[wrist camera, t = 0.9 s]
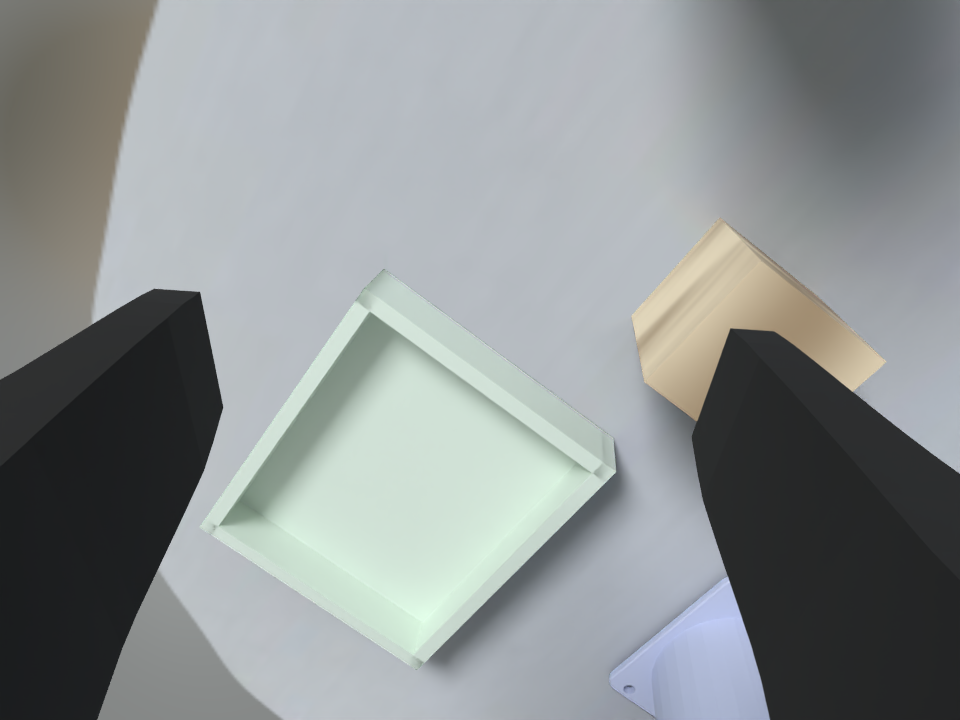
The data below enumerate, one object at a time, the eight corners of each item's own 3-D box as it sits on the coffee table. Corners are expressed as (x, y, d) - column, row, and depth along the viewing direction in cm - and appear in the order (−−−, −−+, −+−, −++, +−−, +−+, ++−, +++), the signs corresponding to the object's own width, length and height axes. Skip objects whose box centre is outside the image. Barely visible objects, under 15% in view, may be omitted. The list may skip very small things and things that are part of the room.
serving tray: (613, 438, 27) (616, 471, 25) (428, 628, 32) (416, 670, 30) (383, 268, 26) (364, 287, 24) (228, 493, 31) (199, 527, 29)
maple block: (818, 296, 24) (886, 361, 19) (724, 387, 26) (762, 471, 20) (719, 217, 24) (760, 260, 18) (631, 315, 25) (644, 381, 20)
